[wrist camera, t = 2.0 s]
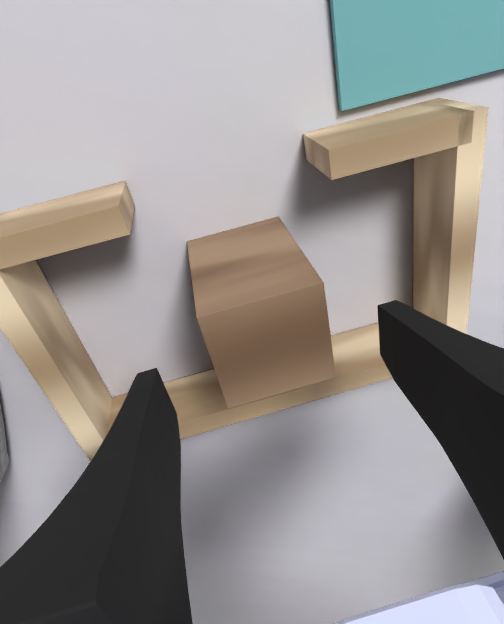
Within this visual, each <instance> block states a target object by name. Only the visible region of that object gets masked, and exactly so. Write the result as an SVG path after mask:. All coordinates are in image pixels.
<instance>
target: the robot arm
mask: <svg viewBox="0 0 504 624" xmlns="http://www.w3.org/2000/svg"><path fill="white" fill-rule="evenodd" d="M378 324H379V344H380V355H381V357H382V359H383V361H384V363H385V365H386V367H387V368H388V370H389V372H390V374H391V376H392V377H393V379H394V381H395V382H396V383H397V385H398V386H399V388H400V389H401V390H402V392H403V393H404V395H405V396H406V397H407V399H408V400H409V401H410V403H411V404H412V405H413V407H414V408H415V409H416V411H417V412H418V413H419V415H420V416H421V418H422V419H423V420H424V422H425V423H426V424H427V426H428V427H429V428H430V430H431V431H432V432H433V434H434V435H435V437H436V438H437V440H438V441H439V443H440V444H441V446H442V447H443V449H444V451H445V452H446V454H447V456H448V457H449V459H450V461H451V462H452V464H453V466H454V468H455V469H456V471H457V473H458V474H459V476H460V478H461V480H462V482H463V483H464V485H465V487H466V489H467V490H468V492H469V494H470V496H471V498H472V499H473V501H474V503H475V505H476V507H477V509H478V511H479V512H480V514H481V516H482V518H483V520H484V522H485V524H486V526H487V528H488V529H489V531H490V533H491V535H492V537H493V539H494V541H495V543H496V545H497V547H498V549H499V551H500V553H501V555H502V557H503V559H504V349H503V348H500V347H497V346H495V345H492V344H489V343H487V342H484V341H482V340H479V339H477V338H475V337H472V336H470V335H467V334H465V333H463V332H460V331H458V330H456V329H454V328H452V327H449V326H447V325H445V324H443V323H441V322H439V321H437V320H435V319H433V318H431V317H429V316H427V315H425V314H423V313H421V312H419V311H417V310H415V309H413V308H411V307H409V306H407V305H405V304H403V303H401V302H399V301H397V300H395V301H391V302H388V303H384V304H381V305H378ZM180 485H181V445H180V434H179V426H178V418H177V412H176V410H175V408H174V406H173V403H172V401H171V399H170V397H169V394H168V392H167V390H166V388H165V386H164V383H163V381H162V379H161V377H160V374H159V372H158V370H157V368H155V369H151V370H148V371H144V372H141V373H138V374H137V375H136V377H135V379H134V381H133V383H132V385H131V388H130V390H129V392H128V394H127V396H126V398H125V400H124V402H123V405H122V407H121V409H120V411H119V413H118V414H117V416H116V418H115V420H114V422H113V424H112V426H111V428H110V430H109V432H108V433H107V435H106V437H105V439H104V440H103V442H102V444H101V445H100V447H99V449H98V451H97V452H96V454H95V456H94V457H93V459H92V460H91V462H90V463H89V465H88V466H87V468H86V470H85V471H84V472H83V474H82V475H81V477H80V478H79V480H78V481H77V482H76V484H75V485H74V486H73V488H72V489H71V490H70V491H69V493H68V494H67V495H66V496H65V498H64V499H63V500H62V501H61V503H60V504H59V505H58V506H57V508H56V509H55V510H54V511H53V513H52V514H51V515H50V516H49V517H48V518H47V520H46V521H45V522H44V523H43V524H42V525H41V526H40V527H39V528H38V530H37V531H36V532H35V533H34V534H33V535H32V536H31V537H30V538H29V539H28V540H27V541H26V542H25V543H24V545H23V546H22V547H21V548H20V549H19V550H18V551H17V552H16V553H15V554H14V555H13V556H12V557H11V558H10V559H9V560H8V561H6V562H5V563H4V564H3V565H2V566H1V567H0V624H192V616H191V609H190V601H189V593H188V585H187V576H186V568H185V559H184V549H183V539H182V529H181V511H180ZM334 624H504V571H503V572H499V573H496V574H493V575H490V576H487V577H483V578H480V579H477V580H474V581H471V582H467V583H464V584H459V585H453V586H449V587H446V588H443V589H439V590H436V591H433V592H430V593H427V594H423V595H420V596H417V597H414V598H411V599H407V600H404V601H401V602H398V603H395V604H391V605H388V606H385V607H382V608H379V609H375V610H372V611H369V612H366V613H363V614H359V615H356V616H353V617H350V618H346V619H344V620H341V621H339V622H337V623H334Z"/></svg>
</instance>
